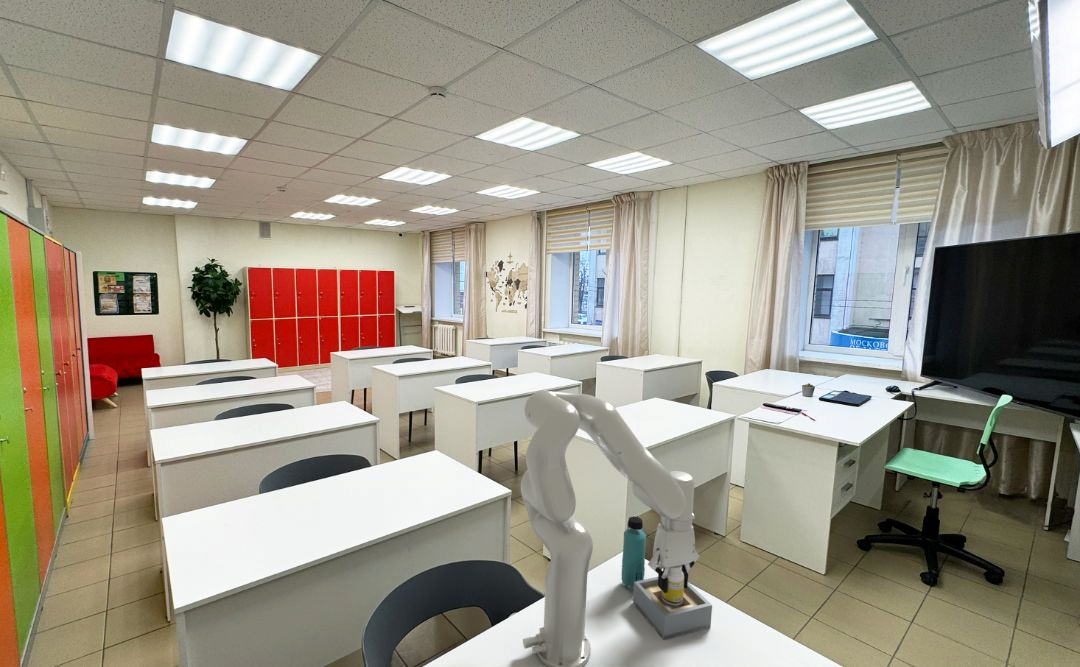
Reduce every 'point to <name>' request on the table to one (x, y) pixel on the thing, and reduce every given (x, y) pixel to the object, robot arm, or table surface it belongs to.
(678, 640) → the table surface
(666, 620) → the box
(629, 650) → the table surface
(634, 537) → the beverage bottle
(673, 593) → the supplement bottle
